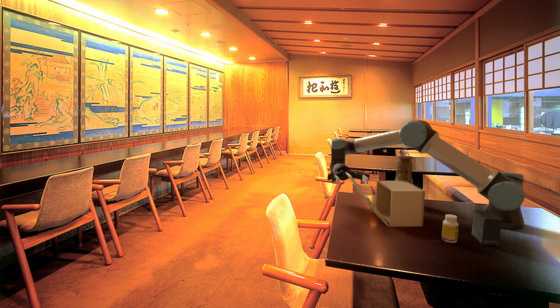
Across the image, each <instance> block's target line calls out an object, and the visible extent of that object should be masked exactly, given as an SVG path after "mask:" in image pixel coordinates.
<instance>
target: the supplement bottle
mask: <svg viewBox="0 0 560 308" xmlns="http://www.w3.org/2000/svg"><path fill="white" fill-rule="evenodd" d="M459 225H460V224H459V222H458V216H457V215H454V214H449V213H448V214H445V217H444V220H442V228H441V229H442V230H441V240H442V241H444V242H447V243H451V244H453V243H457V242H458V236H459V227H460V226H459Z"/></svg>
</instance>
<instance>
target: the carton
mask: <svg viewBox="0 0 560 308" xmlns="http://www.w3.org/2000/svg"><path fill="white" fill-rule="evenodd" d="M375 185H376V186H375V187H376V188H375V189H376V190H375V192H376V193H375V207H376V208H377V210H378V211H379V213H380V214H381V215H382V217H383V218H384V219H385V221H386V222H387V223H388V224H389V227H391V228H392V227H423V226H424V214H425V199H426V197H425V196H426V190H423V189H422V188H420V187H418V186H416V185H415V184H414V183H412V184H411V183H409V182H407V181H395V180H376V184H375Z"/></svg>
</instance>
